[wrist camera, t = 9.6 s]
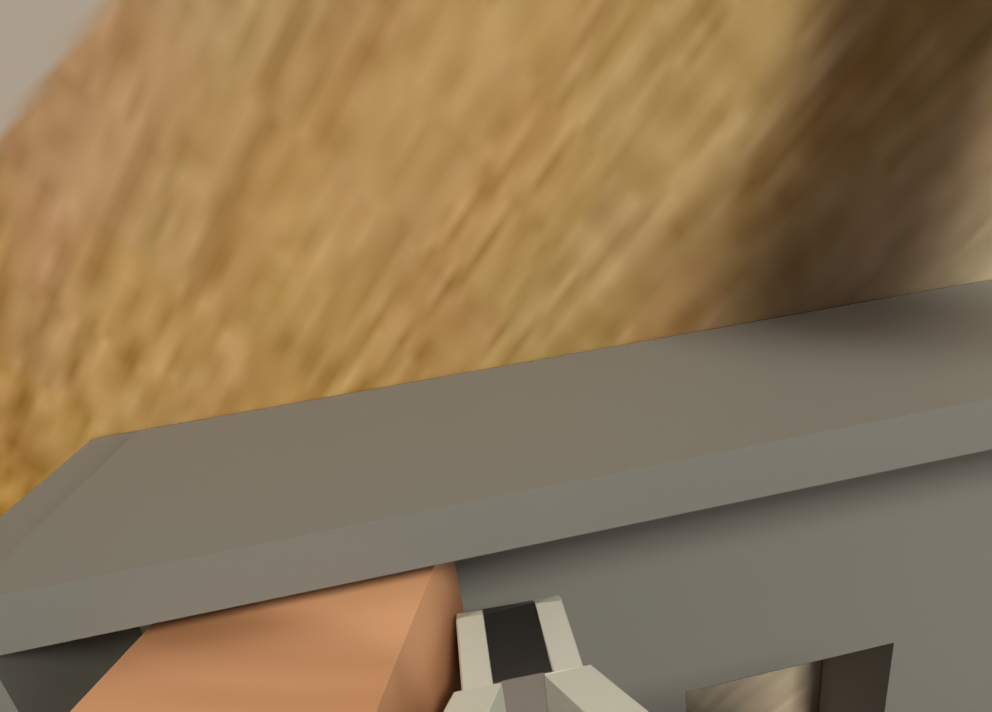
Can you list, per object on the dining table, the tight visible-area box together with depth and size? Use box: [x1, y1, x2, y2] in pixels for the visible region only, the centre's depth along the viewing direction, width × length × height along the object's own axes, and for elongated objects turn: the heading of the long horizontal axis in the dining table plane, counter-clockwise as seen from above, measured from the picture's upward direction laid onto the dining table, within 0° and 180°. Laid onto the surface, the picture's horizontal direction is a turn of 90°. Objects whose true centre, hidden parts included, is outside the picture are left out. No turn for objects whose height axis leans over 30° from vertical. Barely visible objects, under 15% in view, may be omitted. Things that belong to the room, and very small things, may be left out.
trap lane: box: [0, 280, 992, 712], centre depth 14 cm, size 16×24×6 cm, turn 98°
